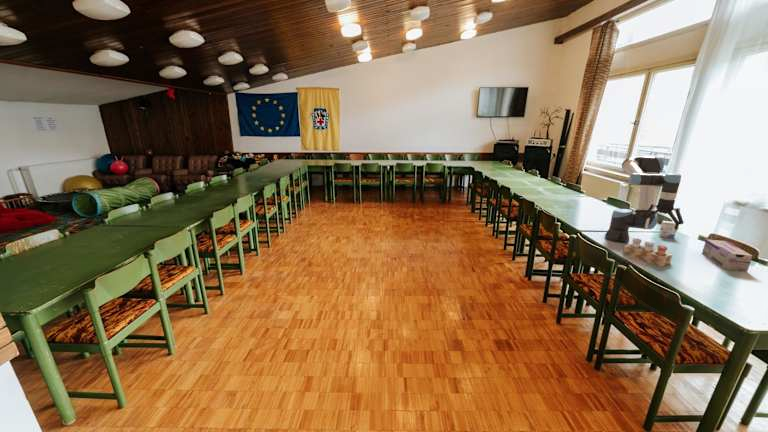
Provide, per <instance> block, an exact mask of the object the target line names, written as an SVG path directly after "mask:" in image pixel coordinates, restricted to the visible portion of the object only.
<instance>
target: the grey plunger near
mask: <svg viewBox="0 0 768 432" xmlns="http://www.w3.org/2000/svg"><path fill="white" fill-rule="evenodd" d="M632 243H633V244H632ZM632 243H631V244H632V247H634V248H637V249H638V248H639V246H641V243H642V239H639V238H632Z"/></svg>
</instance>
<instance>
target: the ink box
mask: <svg viewBox="0 0 768 432" xmlns="http://www.w3.org/2000/svg"><path fill="white" fill-rule="evenodd" d="M674 224H675V222H674V221H668V220H662V221H661V225H660V229H659V232H658V235H659V236H660V237H664V238H670V239H671V238H672V239H675V236H676V233H677V229H675V233H674V234H671V233H672V229H673V225H674Z"/></svg>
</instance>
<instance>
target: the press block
mask: <svg viewBox="0 0 768 432" xmlns="http://www.w3.org/2000/svg"><path fill="white" fill-rule="evenodd" d="M632 244H633V242H632V243H630V244H627V245H624V249H623V252H622V255H624V256H628V257H631V258H633V257H634V259H636V258H637V260H640V261H644V262H646V261H647V262H646V263H650V264H652V263H653V264H652V265H655V264H656V266H658V265H659V267H661V266H662V267H664V266H667V265H669V264H671V262H672V258H673V254H671V253H668V252H665V256H661V255H658V254H657V251H658V249H653V248H652V251H651V252H648V251H644V248H645V245H644V246H643V245H640V246H639V248H638V249H637V248H634V247H632ZM662 267H661V268H662Z"/></svg>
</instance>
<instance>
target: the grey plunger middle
mask: <svg viewBox="0 0 768 432" xmlns="http://www.w3.org/2000/svg"><path fill="white" fill-rule="evenodd" d="M654 245H655V243H654V242H650V241H645V242H644V247H645V248H644V251H648V252H651V251H652V249H653V247H654Z"/></svg>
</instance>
